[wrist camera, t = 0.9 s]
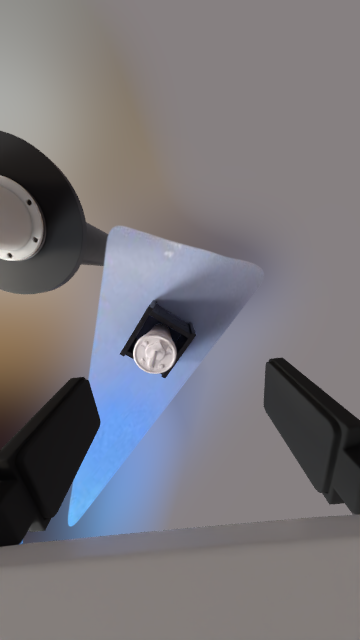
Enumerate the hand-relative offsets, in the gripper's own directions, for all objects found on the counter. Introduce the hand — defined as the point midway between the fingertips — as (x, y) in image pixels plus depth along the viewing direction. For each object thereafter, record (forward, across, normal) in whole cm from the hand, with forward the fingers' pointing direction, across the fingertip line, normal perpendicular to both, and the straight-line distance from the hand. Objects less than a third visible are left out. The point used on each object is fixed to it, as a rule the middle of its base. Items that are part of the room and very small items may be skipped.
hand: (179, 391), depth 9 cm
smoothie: (+24, +4, +5) cm, 25 cm away
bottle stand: (+24, +4, +5) cm, 25 cm away
